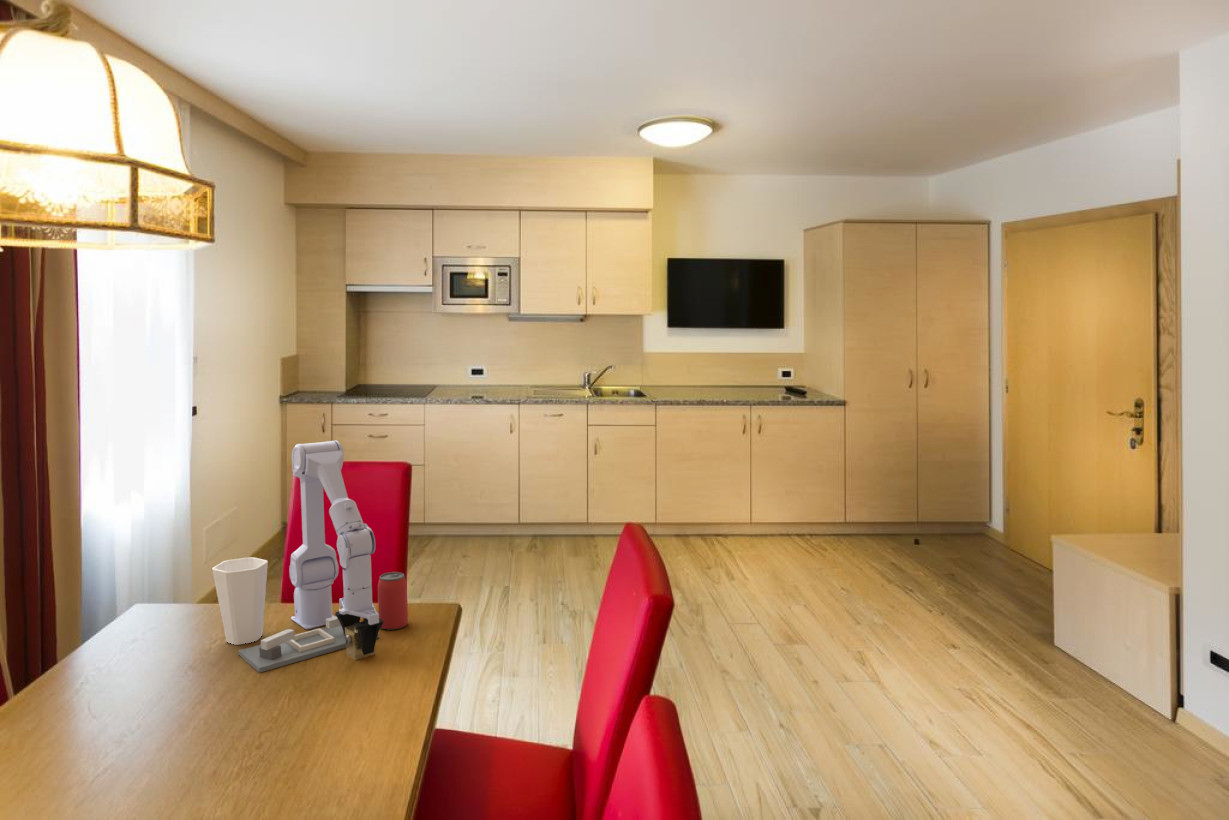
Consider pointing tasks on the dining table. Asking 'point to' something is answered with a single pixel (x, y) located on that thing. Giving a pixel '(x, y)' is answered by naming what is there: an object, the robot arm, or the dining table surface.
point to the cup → (241, 598)
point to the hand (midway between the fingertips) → (360, 647)
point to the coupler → (354, 644)
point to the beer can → (393, 600)
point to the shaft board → (295, 646)
